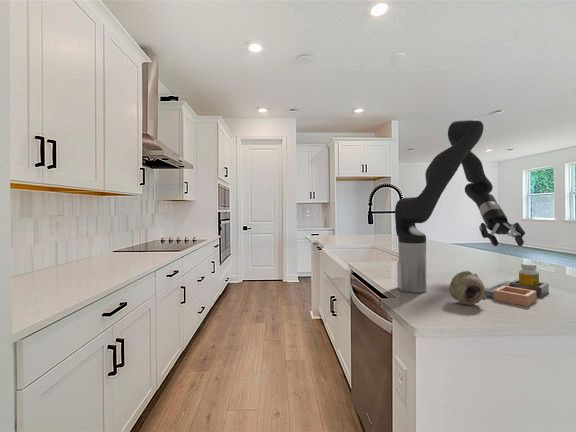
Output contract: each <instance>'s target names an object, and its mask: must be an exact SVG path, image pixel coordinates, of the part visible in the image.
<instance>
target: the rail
mask: <svg viewBox="0 0 576 432" xmlns="http://www.w3.org/2000/svg"><path fill="white" fill-rule="evenodd" d="M549 284H550V283H548V282H541V281H539V287H537V286H530V285H524V284H519V278H517V279H515V280H512V281H510V280H506V281H503V282H501V283H499V284H496V285H494V286H492V287H490V288H487V289H486V290H485V292H484V296H485V297H486V298H489V299H494V290H495V289H497V288H500V287H502V286H509V287H515V288H521V289H527V290H533V291H536V297H538V298H542V297H544V296H546V295H547V294H548V293H550V292H549V289H550V288H549V287H550V286H549Z"/></svg>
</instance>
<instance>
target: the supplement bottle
mask: <svg viewBox="0 0 576 432" xmlns="http://www.w3.org/2000/svg"><path fill="white" fill-rule="evenodd" d="M520 265H521V266H520V267H521V269H519V270H518V279H519V284H524V285H530V286H537V287H539V282H540V273H539V271H538V270H537V264H536V263H528V262H527V263H526V262H525V263H524V262H523V263H521V264H520Z"/></svg>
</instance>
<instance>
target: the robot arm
mask: <svg viewBox="0 0 576 432" xmlns="http://www.w3.org/2000/svg"><path fill="white" fill-rule="evenodd" d="M483 132H484V123H483V122H482V121H481V120H479V119H465V120H464V119H463V120H455V121H453V122H452V123H451V124H450V125H449V126H448V130H447V138H448V141H449V144H450V145H451V146H450V147H448V148H446V149H444V150H443V151H441V152H440V153H438V154H437V155H436V156H435V157H433V159H432V161H431V162H430V163H429V165H428V166H427V168H426V170H425V175H424V177H425V183H426V184H425V187H424V189H423V190H422V191H421V192H420V193H419V194H418V195H417V196H415V197H414V196H413V197H411V196H410V197H403V198H400V199H399V200H398V201H397V202H396V204H395V209H394V220H395V222H394V223H395V232H396V235H397V239H398V240H397V241H398V261H397V263H396V268H397V269H396V272H397V275H396V276H397V278H396V279H397V288H398V290H400V291H401V292H407V293H418V294H419V293H425V292H426V291H427V286H428V285H427V236H426V233H424V232H422V231H420V230H419V229H418V228H417V225H416V224H423V223H425V222H427V221H428V220H429V218H431V215H432V214H433V212H434V210H435V208H436V206H437V203H438V202H439V199H440V198H441V196H442V195H443V192H444V191H445V189H446V188H447V186H448V184H449V183H450V181H451V180H452V179H453V177H454V176H455V174H456V173H457V171H458V169H459V167H460V166H462V168H463V173H464V176H465V179H466V181H468V183H467V184H466V185H465V187H464V193H465V194H466V195H467V196H468V198H469V199H471V201H473V202H474V203H475V204H476V206H477V209H478V210H479V214H480V216H481V217H482V220H483V222H482V223H480V225H479V232H480V233H481V236H482V238H484V239H486V238H487V239H489V240H490V243H491V245H493V246H494V247H498V246H499V241H498V239H497V237H496V235H506V236H508V237H512V238H513V239H514V240H515V242H516V244H517V246H518V247H522V246H523V245H524V243H525V241H524V239H523V237H524V236H525V235H526V232H525V231H524V229H523V228H522V226H521V224H520V223H519V222H515V223H514V224H513V223H509V220H508V217H507V216H506V213H505V212H504V211H503V209H502V207H501V206H500V204H499V203H498V201H497V200H496V197H495V196H494V195H493V194H491V192H492V191H493V188H494V186H493V184H492V182H491V181H490V179H489V178H488V177H487V175H486V174H485V171H484V166H483V163H482V161H481V160H480V158H479V157H478V156H477V155H476V154H475V153H474V152H473V151H472V150H473V148H474V147H475V146H476V145H477V144H478V142H479V141H480V140H481V138H482V136H483ZM488 230H489V231H491V232H490V233H489V232H488ZM495 234H496V235H495Z"/></svg>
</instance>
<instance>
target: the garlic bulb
mask: <svg viewBox="0 0 576 432" xmlns="http://www.w3.org/2000/svg"><path fill="white" fill-rule="evenodd" d="M449 292H450V296H451V298H453V299H454V300H456V302H458V303H460V304H461V305H466V306H469V307H470V306H472V305H476V304H478V303H480V302H481V301H485V300H487V297H485V284H484V283H483V281H482V280H481V278H480V277H479V276H478V275H477V273H472V272H471V271H470V270H464V271H461V272H457V273H456V274H455V275H454V276H453V277H452V278H451V281H450V285H449Z"/></svg>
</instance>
